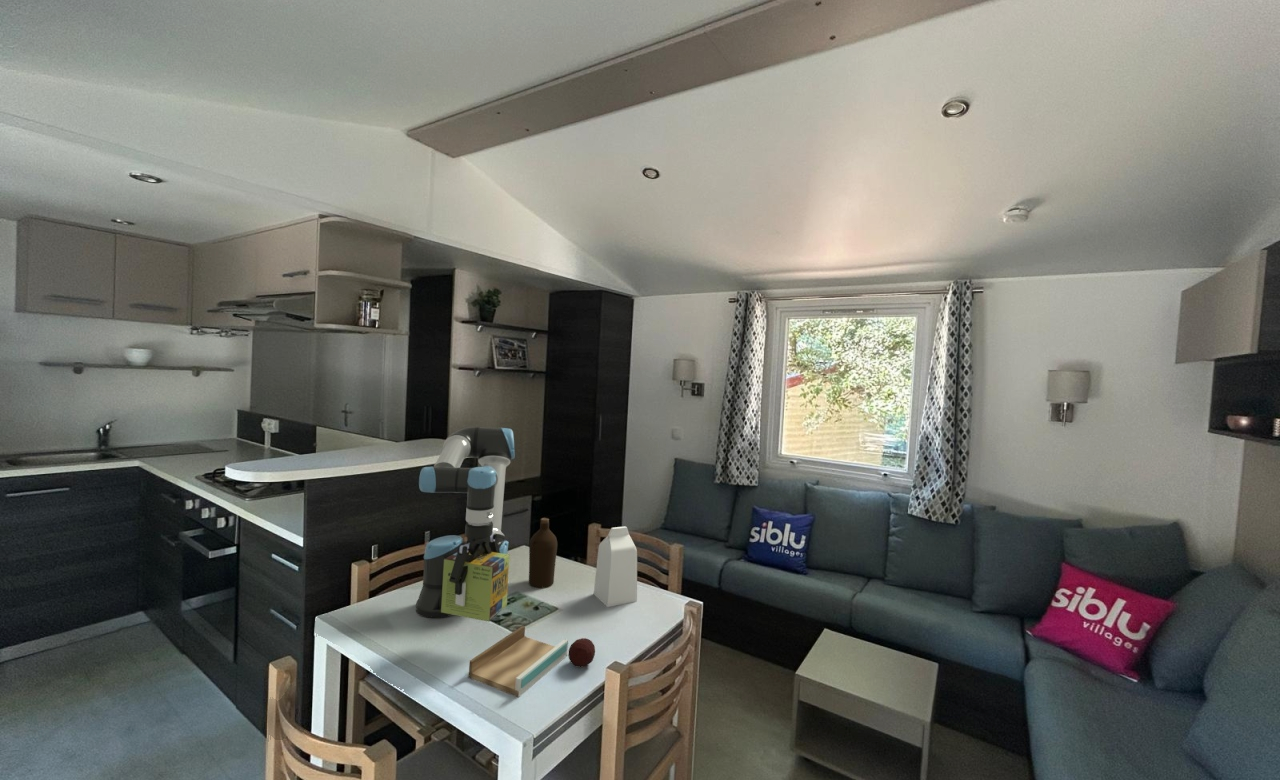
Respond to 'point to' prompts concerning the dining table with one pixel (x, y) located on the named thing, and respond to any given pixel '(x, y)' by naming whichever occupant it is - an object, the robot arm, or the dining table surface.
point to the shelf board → (511, 664)
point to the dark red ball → (581, 652)
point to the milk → (616, 569)
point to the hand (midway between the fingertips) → (475, 596)
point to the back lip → (496, 649)
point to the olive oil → (542, 556)
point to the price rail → (541, 667)
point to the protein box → (478, 587)
